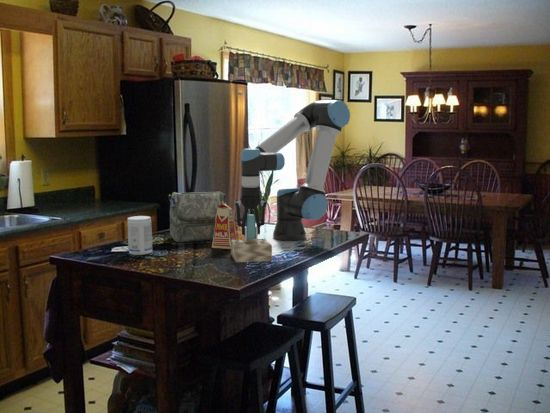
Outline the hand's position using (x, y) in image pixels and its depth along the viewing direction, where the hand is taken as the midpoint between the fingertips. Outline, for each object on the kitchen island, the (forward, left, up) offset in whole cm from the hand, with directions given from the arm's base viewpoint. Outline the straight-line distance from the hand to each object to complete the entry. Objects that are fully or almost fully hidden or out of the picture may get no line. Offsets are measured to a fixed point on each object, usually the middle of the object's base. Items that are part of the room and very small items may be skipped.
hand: (250, 242), depth 258 cm
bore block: (+2, +13, -4) cm, 14 cm away
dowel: (0, 0, -4) cm, 4 cm away
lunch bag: (+20, -32, -4) cm, 38 cm away
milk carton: (+10, -11, -4) cm, 16 cm away
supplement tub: (+45, -5, -4) cm, 46 cm away
